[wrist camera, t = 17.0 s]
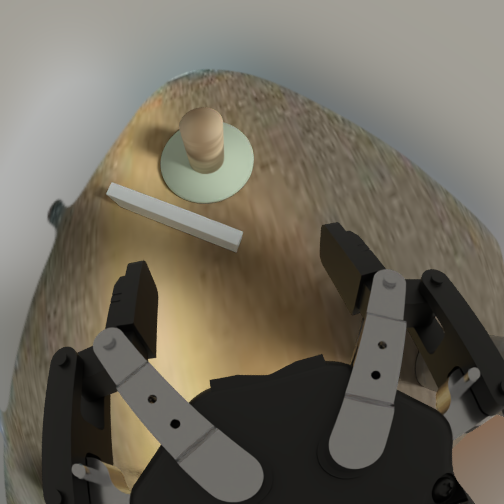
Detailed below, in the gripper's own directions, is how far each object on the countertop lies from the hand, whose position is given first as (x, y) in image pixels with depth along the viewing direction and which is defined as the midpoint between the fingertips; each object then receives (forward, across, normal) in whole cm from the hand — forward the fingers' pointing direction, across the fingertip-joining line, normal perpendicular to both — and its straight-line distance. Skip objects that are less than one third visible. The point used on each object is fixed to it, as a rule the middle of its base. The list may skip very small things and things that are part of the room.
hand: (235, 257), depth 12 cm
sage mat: (+26, 0, +4) cm, 26 cm away
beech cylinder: (+25, 0, +3) cm, 25 cm away
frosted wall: (+20, +5, +9) cm, 23 cm away
